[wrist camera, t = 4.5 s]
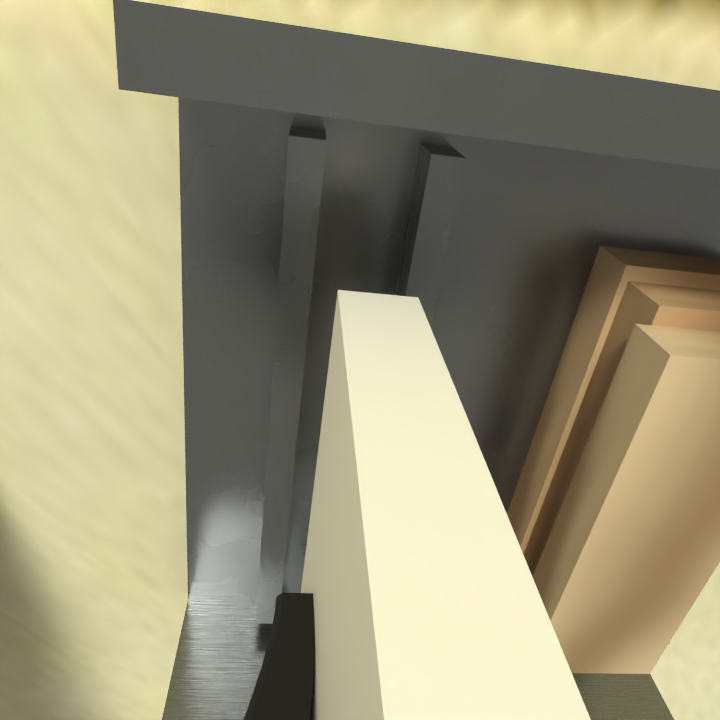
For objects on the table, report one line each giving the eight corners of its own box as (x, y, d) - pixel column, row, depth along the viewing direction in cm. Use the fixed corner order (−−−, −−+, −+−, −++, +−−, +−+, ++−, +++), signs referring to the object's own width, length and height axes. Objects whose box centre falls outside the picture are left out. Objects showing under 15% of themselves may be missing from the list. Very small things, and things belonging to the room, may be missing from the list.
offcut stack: (486, 556, 21) (526, 674, 17) (593, 245, 15) (687, 316, 12) (597, 560, 22) (660, 676, 18) (740, 261, 16) (879, 334, 12)
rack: (194, 593, 23) (161, 749, 18) (187, 11, 13) (112, -3, 8) (594, 604, 25) (663, 744, 20) (839, 111, 15) (1090, 148, 10)
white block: (289, 681, 16) (272, 1221, 9) (337, 290, 10) (405, 910, 3) (342, 682, 16) (368, 1210, 9) (418, 297, 11) (663, 897, 3)
